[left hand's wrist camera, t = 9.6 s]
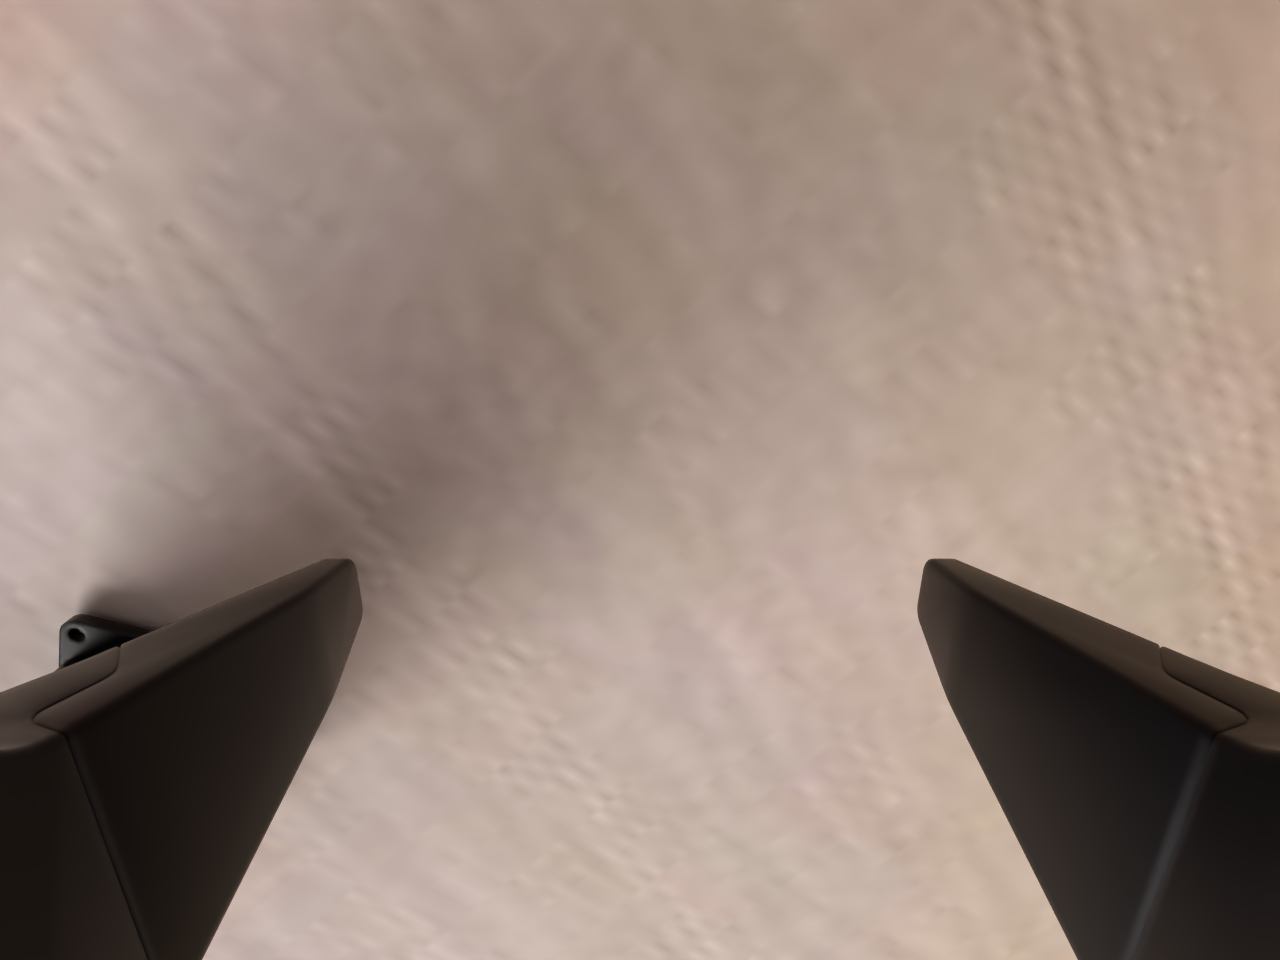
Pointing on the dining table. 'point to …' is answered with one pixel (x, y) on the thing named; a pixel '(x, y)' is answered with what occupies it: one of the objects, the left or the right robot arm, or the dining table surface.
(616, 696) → the dining table surface
